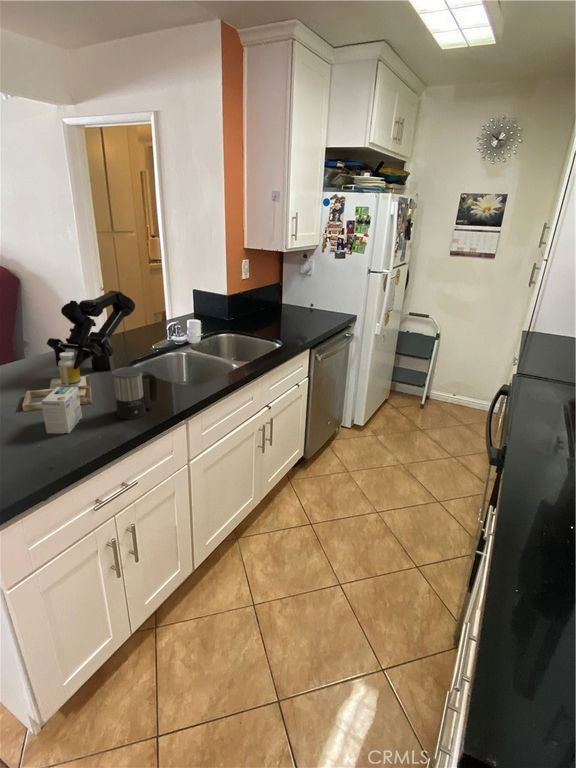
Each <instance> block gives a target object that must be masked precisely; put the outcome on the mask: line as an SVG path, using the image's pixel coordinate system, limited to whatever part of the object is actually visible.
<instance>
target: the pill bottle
mask: <svg viewBox="0 0 576 768" xmlns="http://www.w3.org/2000/svg"><path fill="white" fill-rule="evenodd" d="M60 358H61V360H60V361H59V362H58V366H59V367H58V371H59V377H60V378H61V383H62V384H63V385H65V386H74V385H77V384H79V383H80V382H81V378H80V377H81V372H80V371H81V370H80V366H79V367H78V368H77V369H74V363H75V360H76V358H75V353H74V352H73V351H66V352H63V353H60Z"/></svg>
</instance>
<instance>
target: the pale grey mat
mask: <svg viewBox="0 0 576 768" xmlns="http://www.w3.org/2000/svg"><path fill="white" fill-rule="evenodd" d="M80 378H81V382H80V383H79V384H77V385H74V386H65V385H63V384H62V383H61V377H60V378H52V379H51V380H50V385H49V389H55V388H56V387H76V386H87V385H86V377H85V375H83V376H81V375H80Z"/></svg>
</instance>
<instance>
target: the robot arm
mask: <svg viewBox="0 0 576 768" xmlns="http://www.w3.org/2000/svg"><path fill="white" fill-rule="evenodd" d="M110 306H112V312H111V313H110V314H109V316H108V317H107V319H106V320H105V321H104V323H103V324H102V325H101V327H100V329H99V330H98V332H97V331H91V330H92V328H93V327H97V324H96V322H95V319H93V318H92V317H95V318H98V317H100V316H101V315H102V314H103V312H104V310H105V309H107V308H108V307H110ZM135 309H136V303H135V302H134V300H132V299H131V297H129V296H127V295H125V294H124V293H123V292H121V291H119V290H109V291H108V292H106V293H104V294H103V295H100V296H99V297H95V299H94V298H93V299H85V300H81V301H79V303H78V302H77V301H76V300H70V301H69V302H68V303H65V304H64V305H63V306H62V307H61V309H60V312H61V314H62V316H64V317H65V318H66V319H67V320H68V321H69V322H70V323H71V324H73V327H71V328H70V329H69V332H70V335H69V337H65V342H64V341H63V340H61V339H60V338H55V337H50V338H48V340H47V342H46V345H47V346H48V347H50V348H51V349H52V350H54V354H55V355H54V356H55V361H56V364H55V365H56V367H57V368H59V366H58V362H59V361H60V360H61V358H60V353H63V352H67V351H66V349H69V350H74V352H76V357H75V359H76V360H75V363H74V369H77V368H78V367H79V368H80V366H81V365H82V364H83V363H84V362H85V361H86V360H87V359H89V358H90V362H91V369H92V370H93V372H107V371H108V372H109V371H111V370H112V368H111V367H112V366H111V362H110V361H111V360H110V357H112V356H113V355H114V348H113V347H112V346H111V342H110V339H111V337H112V336H113V335H114V333H115V331H116V330H117V328H118V327H119V325H120V323H121V322H122V321H123V320H124V318H126V317H128V316H131V314H132V313H133V312H134V310H135Z"/></svg>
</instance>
